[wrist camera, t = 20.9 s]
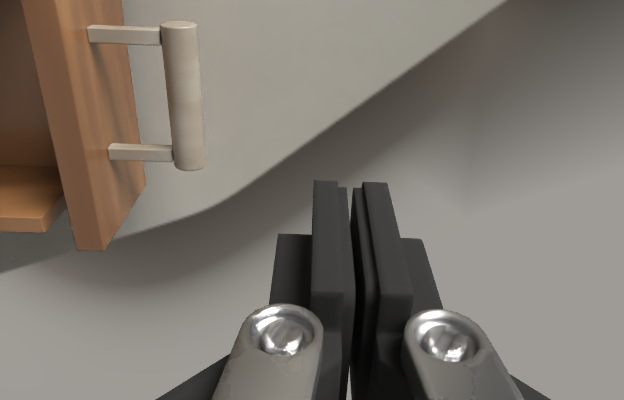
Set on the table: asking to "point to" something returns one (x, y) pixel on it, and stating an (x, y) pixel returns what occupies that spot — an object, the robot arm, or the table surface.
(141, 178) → the drawer
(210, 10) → the table surface
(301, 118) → the table surface
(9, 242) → the table surface
